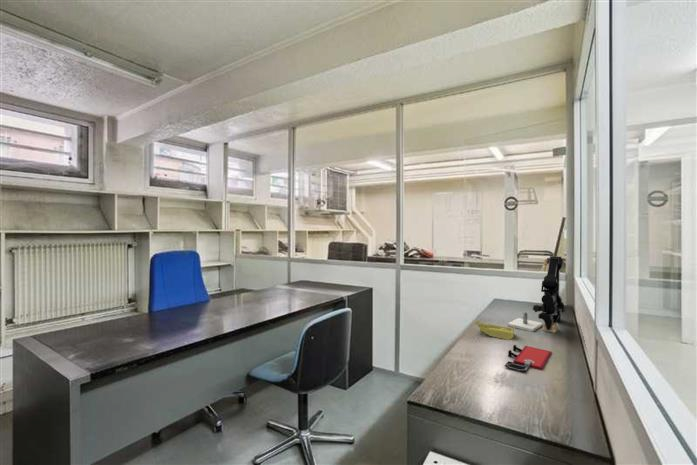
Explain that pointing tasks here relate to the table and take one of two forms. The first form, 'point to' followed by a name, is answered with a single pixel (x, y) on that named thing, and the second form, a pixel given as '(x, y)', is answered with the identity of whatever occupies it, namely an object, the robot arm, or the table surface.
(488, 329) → the plastic component
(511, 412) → the table surface
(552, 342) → the table surface
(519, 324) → the post plate
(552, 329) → the collar
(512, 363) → the red board with handle
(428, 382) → the table surface
